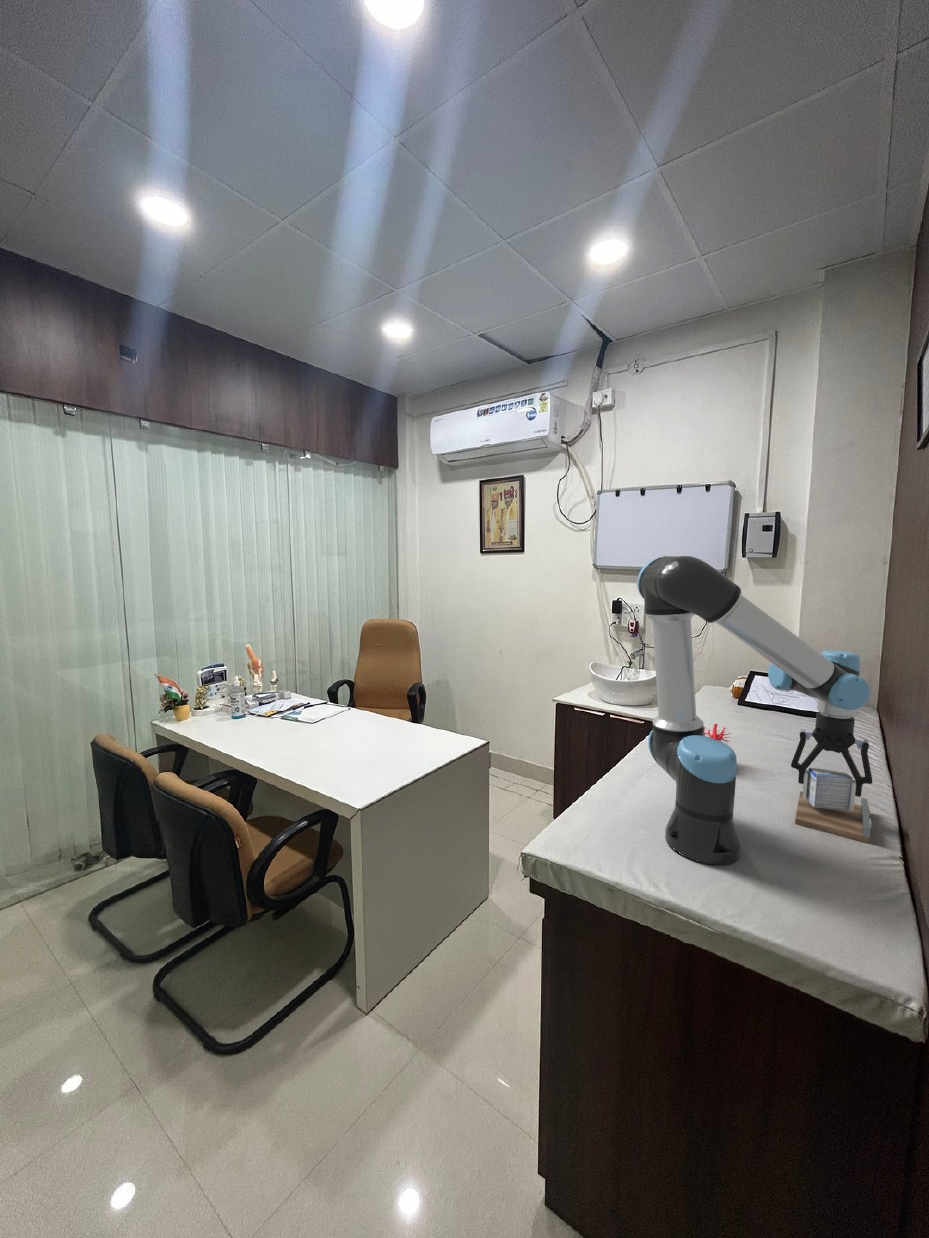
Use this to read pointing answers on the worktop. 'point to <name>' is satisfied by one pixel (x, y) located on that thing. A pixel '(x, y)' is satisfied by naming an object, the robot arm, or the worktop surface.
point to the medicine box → (829, 788)
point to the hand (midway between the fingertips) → (827, 801)
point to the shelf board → (836, 819)
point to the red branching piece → (717, 737)
